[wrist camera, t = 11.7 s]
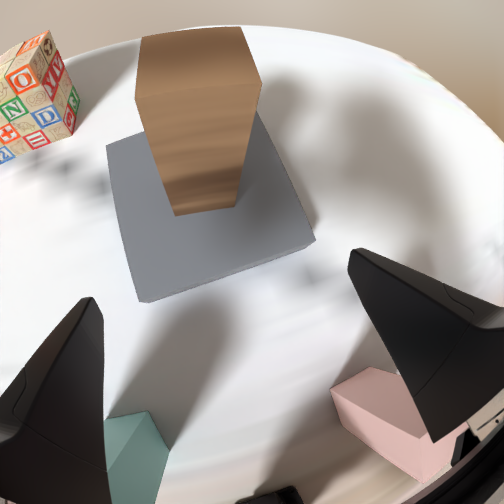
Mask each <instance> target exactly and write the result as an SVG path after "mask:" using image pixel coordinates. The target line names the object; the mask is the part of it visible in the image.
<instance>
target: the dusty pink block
mask: <svg viewBox="0 0 504 504" xmlns="http://www.w3.org/2000/svg"><path fill="white" fill-rule="evenodd" d="M330 392H331V395H332V398H333V401H334V404H335V407H336V409H337V412H338V415H339V418H340V421H341V424H342V426H343V427H344V428H346V429H347V430H348V431H349V432H351V433H352V434H353V435H355V436H356V437H357V438H358V439H360V440H361V441H362V442H364V443H365V444H366V445H368V446H369V447H370V448H372V449H373V450H374V451H376V452H377V453H379V454H380V455H381V456H383V457H384V458H386V459H387V460H388V461H390V462H391V463H393V464H394V465H395V466H397V467H398V468H400V469H401V470H403V471H404V472H406V473H407V474H409V475H410V476H412V477H413V478H415V479H416V480H418V481H419V482H421V483H423V484H424V483H425V482H426V481H428V480H429V479H430V478H431V477H433V476H434V475H435V474H436V473H437V472H438V471H440V470H441V469H442V468H443V467H444V466H445V465H446V464H447V463H448V462H449V461H450V460H452V456H453V452H454V447H455V442H456V437H458V436H459V435H460V434H461V433H462V432H463V431H465V430H466V429H467V428H468V425H467V423H466V421H465V422H464V423H463V424H461V425H460V426H459V427H457V428H456V429H455V430H453V431H452V432H451V433H449V434H448V435H446V436H445V437H443V438H442V439H440V440H439V441H437V442H436V443H434V444H433V442H432V441H431V438H430V436H429V434H428V431H427V429H426V427H425V425H424V422H423V420H422V418H421V416H420V414H419V412H418V409H417V407H416V405H415V403H414V401H413V398H412V396H411V394H410V392H409V390H408V388H407V386H406V384H405V382H404V380H403V378H402V376H401V375H397V374H394V373H390V372H386V371H383V370H380V369H376V368H373V367H368V368H366V369H365V370H363V371H361V372H360V373H358V374H356V375H354V376H353V377H351V378H349V379H347V380H345V381H344V382H342V383H340V384H338V385H336V386H334V387H332V388H331V389H330Z"/></svg>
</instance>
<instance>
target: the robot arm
mask: <svg viewBox="0 0 504 504" xmlns="http://www.w3.org/2000/svg"><path fill="white" fill-rule="evenodd" d="M348 274H349V277H350V279H351V281H352V283H353V285H354V287H355V289H356V292H357V294H358V296H359V298H360V300H361V303H362V305H363V307H364V308H365V310H366V312H367V314H368V316H369V317H370V319H371V321H372V323H373V324H374V326H375V328H376V330H377V331H378V333H379V335H380V337H381V339H382V340H383V342H384V344H385V346H386V348H387V350H388V351H389V353H390V355H391V357H392V359H393V361H394V363H395V365H396V367H397V369H398V370H399V372H400V374H401V376H402V378H403V380H404V382H405V384H406V386H407V388H408V390H409V392H410V394H411V396H412V398H413V401H414V403H415V405H416V407H417V409H418V412H419V414H420V416H421V418H422V420H423V422H424V425H425V427H426V429H427V431H428V434H429V436H430V438H431V441H432V442H433V444H434V443H436V442H437V441H439V440H440V439H442V438H443V437H445V436H446V435H448V434H449V433H451V432H452V431H453V430H455V429H456V428H457V427H459V426H460V425H461V424H463V423H464V422H465V421H466V423H467V425H468V428H467V429H466V430H465V431H463V432H462V433H461V434H460V435H459V436H458V437H456V442H455V447H454V452H453V456H452V460H451V466H452V468H451V469H450V470H449V471H447V472H446V473H445V474H444V475H442V476H441V477H440V478H438V479H437V480H436V481H434V482H433V483H432V484H430V485H429V486H427V487H426V488H425V489H423V490H422V491H420V492H419V493H417V494H416V495H414V496H413V497H411V498H410V499H408V500H406V501H405V502H403V503H401V504H499V503H500V502H501V501H502V499H503V498H504V307H499V306H496V305H494V304H491V303H489V302H486V301H484V300H482V299H479V298H477V297H474V296H472V295H469V294H467V293H465V292H462V291H460V290H458V289H455V288H453V287H451V286H449V285H447V284H445V283H442V282H440V281H438V280H436V279H434V278H431V277H429V276H427V275H425V274H423V273H420V272H418V271H416V270H414V269H411V268H409V267H407V266H404V265H402V264H400V263H397V262H395V261H393V260H390V259H388V258H386V257H383V256H381V255H379V254H376V253H374V252H371V251H369V250H367V249H364V248H357V249H353V250H352V251H351V253H350V258H349V263H348ZM103 383H104V319H103V315H102V313H101V311H100V309H99V307H98V305H97V303H96V301H95V300H94V298H93V297H86V298H82V299H80V301H79V302H78V303H77V304H76V305H75V306H74V307H73V308H72V309H71V310H70V312H69V313H68V314H67V315H66V316H65V317H64V318H63V319H62V321H61V322H60V323H59V324H58V325H57V326H56V327H55V329H54V330H53V331H52V332H51V333H50V334H49V336H48V337H47V338H46V339H45V340H44V342H43V343H42V344H41V345H40V347H39V348H38V349H37V350H36V352H35V353H34V354H33V355H32V357H31V358H30V359H29V360H28V362H27V363H26V364H25V367H23V368H22V370H21V371H20V372H19V374H18V375H17V376H16V378H15V379H14V380H13V382H12V383H11V384H10V385H9V387H8V388H7V389H6V390H5V392H4V393H3V394H2V395H1V397H0V504H112V499H111V493H110V487H109V480H108V472H107V465H106V454H105V441H104V420H103ZM290 490H292V491H290ZM238 504H304V503H303V501H302V499H301V497H300V495H299V494H298V492H297V490H296V488H295V487H294V486H290V487H287V488H285V489H282V490H279V491H277V492H274V493H271V494H268V495H265V496H262V497H259V498H256V499H252V500H249V501H245V502H242V503H238Z"/></svg>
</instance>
